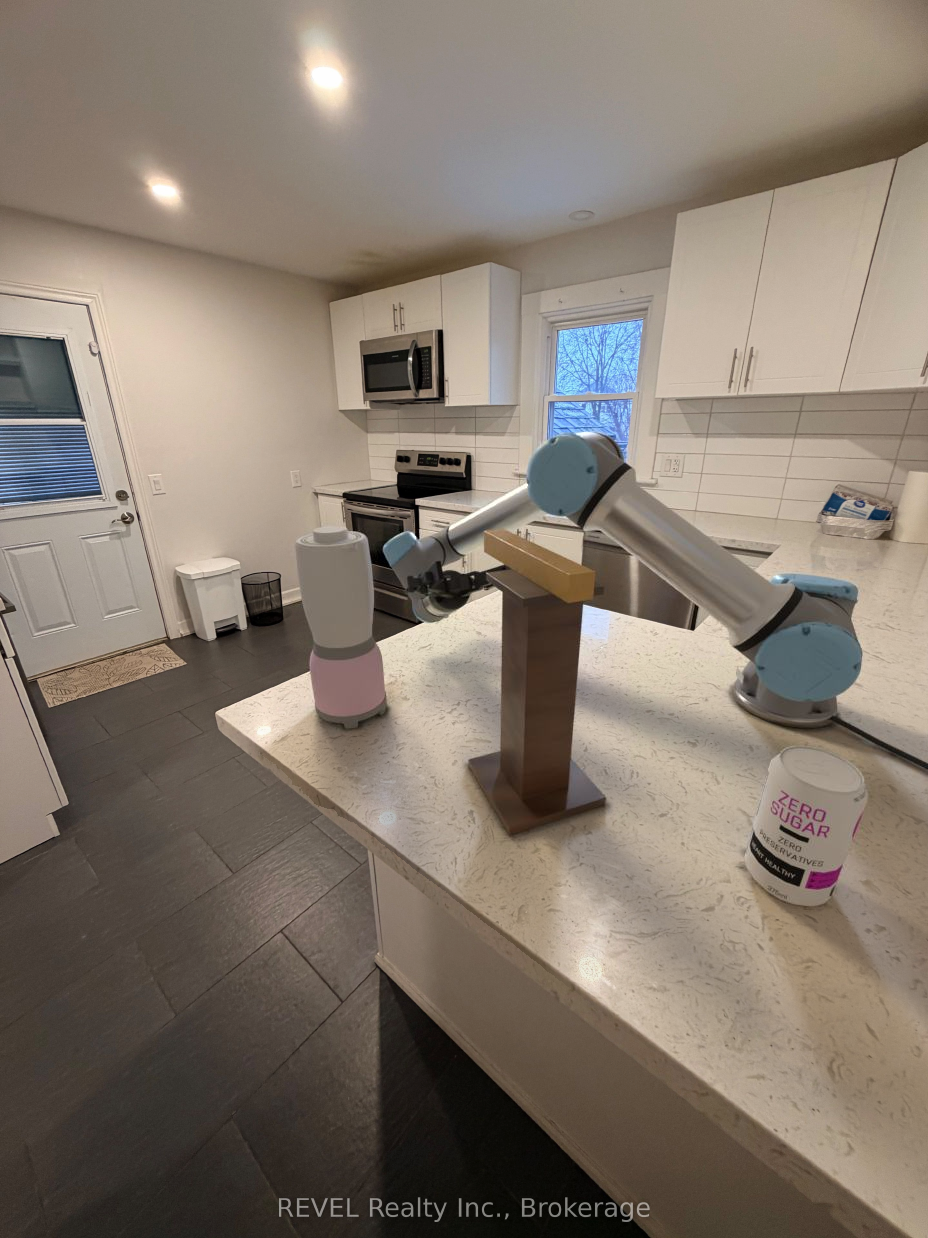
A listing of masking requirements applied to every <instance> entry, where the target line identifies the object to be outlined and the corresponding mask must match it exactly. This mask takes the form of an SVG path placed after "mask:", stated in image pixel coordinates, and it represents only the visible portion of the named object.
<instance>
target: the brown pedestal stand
mask: <svg viewBox="0 0 928 1238" xmlns="http://www.w3.org/2000/svg"><path fill="white" fill-rule="evenodd" d="M486 580H487V581H488V582H489V583H491V584H492V585H493V586H495V587H494V588H496V589H497V590H499V591H500V592H501V593H502V599H501V600H502V601H501V668H500V669H501V673H500V741H499V742H500V745H499V746H500V747H499V749H500V750H499V751H494V752H491V753H487V754H483V755H479V756H475V757H472V758H468V759H467V764H468V765H467V766H468V768H469V769H470V771H471V773H472V775H473V776H474V779H475V780H476V781H477V783H478V784H479V786H480V788H481V790H482V791H483V793H484V795H485V797H486V798H487V800H488V802H489V804H490V805H491V807H492V809H493V811H494V812H495V814H496V815H497V817H498V819H499V820H500V822H501V824H502V825H503V827H504V829H505V831H506V832H507V834H508V836H512V835H515V834H519V833H521V832H525V831H527V830H531V829H533V828H536V827H540V826H543V825H546V824H549V823H552V822H556V821H558V820H561V819H565V818H567V817H571V816H574V815H578V814H580V813H583V812H587V811H590V810H592V809H593V810H594V809H596V808H599V807H603V806H605V805H606V803H607V797H606V796H605V794H604V793H603V792H602V791H601V790H600V789H599V787H597V786H596V784H594V782H593V781H592V780H591V779H590V777H588V776H587V774H585V773H584V771H583V770H582V769H581V768H580V767H579V766H578V765H577V764H576V762H574V760H573V759H572V751H573V750H572V748H573V736H574V725H575V723H574V722H575V712H576V699H577V698H576V697H577V685H578V675H579V664H580V663H579V662H580V651H581V640H582V639H581V637H582V636H581V635H582V625H583V614H584V613H583V611H584V601H578V602H572V603H567V602H566V601H564V600H562V599H561V598H559V597H557V596H556V595H554V594H552V593H551V592H549V591H547V590H546V589H544V588H543V587H541V586H539V585H538V584H536V583H534V582H533V581H531V580H529V579H528V578H526V577H524V576H523V575H521V574H520V573H518V572H516V571H515V570H513V569H511V570H503V571H495V572H488V573H486ZM604 593H605V586H604V585H603V584H600V583H598V582H597V581H595V582H594V593H593V597H597V596H598V597H599V596H603V595H605V594H604Z"/></svg>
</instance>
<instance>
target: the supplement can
mask: <svg viewBox="0 0 928 1238" xmlns="http://www.w3.org/2000/svg"><path fill="white" fill-rule="evenodd" d="M868 794H869V792H868V789H867V787H866V784H865V777H864V775H863V774H862V772H861V771H860V769H859V768H858V767H856V766H855V765H854V764H853V763H852V762H851V761H850V760H847V759H846V758H845V757H843V756H840V755H839V754H836V753H834V752H831V751H829V750H827V749H825V748H820V747H815V746H812V745H799V744H798V745H790V746H787V747H784V748H783V749H782V750H780V753H778V754H776V756H774V757H773V758H772V759H771V760H770V761H769V766H768V769H767V771H766V776H765V779H764V783H763V787H762V791H761V794H760V798H759V802H758V805H757V809H756V813H755V815H754V819H753V820H754V821H753V823H752V826H751V827H752V828H751V830H750V834H749V838H748V843H747V846H746V849H745V853H744V857H743V858H744V862H745V867H746V869H747V871H748V872H749V874H750V876H751V877H752V878H753V879H754V881H756V883H757V884H758V885H759V886H761V888H762V889H764V890H765V891H766V892H767V893H769V894H770V895H772V896H774V897H775V898H777V899H779V900H781V901H784V902H786V903H789V904H791V905H796V906H804V907H815V906H820V905H825V904H826V902H828V900H830V899H831V898H832V895H833V893H834V890H835V887H836V886H837V885H836V884H837V882H838V879H839V877H840V874H841V872H842V869H843V867H844V864H845V861H846V859H847V856H848V853H849V850H850V848H851V845H852V842H853V840H854V838H855V835H856V832H857V829H858V828H859V824H860V821H861V819H862V816H863V814H864V811H865V809H866V806H867V803H868V796H869V795H868Z"/></svg>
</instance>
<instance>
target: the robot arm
mask: <svg viewBox="0 0 928 1238" xmlns="http://www.w3.org/2000/svg"><path fill="white" fill-rule="evenodd" d="M636 473H637V472H636V469H635V468H634V467H632V466H631V465H630V464H629V463H627V462H625V458H624V453H623V450H622V449H621V447H620V445H619V444H618V442H617V441H616V440H615V439H614V438H613V437H612V436H610V435H609V434H607V433H603V432H601V431H591V430H590V431H582V432H564V433H559V434H556V435H555V436H552V437H550V438H548V439H545V440H544V441H543V442H541V444H540V445H538V447H536V449H535V450H534V452H533V454H532V455H531V457H530V459H529V461H528V464H527V467H526V475H525V476H526V481H524V482H523V483H520V484H519V485H518V486H515V487H513V488H512V489H510V490H508V491H507V492H506V493H503V494H501V495H500V496H498V497H497V498H495V499H493V500H492V501H489V502H488V503H487V504H485V505H483V506H481V507H479V508H478V509H476V510H474V511H473V512H471V513H469V514H467V515H466V516H463V517H462V518H459V520H457V521H455V522H453V523H452V524H450V525H448V526H446V527H445V528H443V529H441V530H439V531H437V532H436V533H433V534H431V535H428V536H424V537H421V538H419V539H418V537H417V536H416V535H415V533H414V532H412V531H410V530H405V531H403V532H401V533H399V534H397V535H395V536H394V537H392V538H390V539H389V540H388V541H387V542H386V543H385V544H384V545H383V547H382V552H383V554H384V556H385V559H386V560H387V562H388V564H389V567H391V569H392V570H393V572H394V574H395V575H396V577H397V578H398V580H399V582H400V583H401V586H402V587H403V588H404V590H405V592H406V594H407V596H408V597H409V598H410V600H411V602H412V605H411V606H412V607H411V608H412V612H413V614H414V616H415V617H416V619H417V620H419V621H421V622H422V623H424V624H425V623H426V624H434V623H438V622H440V621H443V620H444V619H449V615H451V614H453V613H454V612H456V611H458V610H460V609H461V608H463V607H464V606H465V605H466V604H467V603H468V602H469V599H470V597H471V595H472V594H473V593H476V592H480V591H489V590H491V589H493V588H496V587H495V586H493V585H492V584H491V583H489V582H488V581H487V580H486V573H488V572H495V571H503V570H511V568H510V567H508V566H506V565H505V564H501V565H499V566H495V567H491V568H489V569H485V570H481V571H479V570H473V571H470V572H466V573H463V572H462V573H461V572H459V571H457V570H454V569H446V570H444V569H443V567H445V566H448V565H450V564H453V563H455V562H458V561H460V560H461V559H463V558H464V557H466V556H467V555H469V554H471V553H473V552H476V551H477V550H479V549H481V548H484V531H487V530H497V529H505V530H507V531H509V532H511V533H514V532H515V531H517V530H519V529H521V528H523V527H524V526H527V525H529V524H530V523H533V522H535V521H536V520H539V519H540V518H543V517H544V516H546V515H551V516H554V517H562V518H563V517H565V518H567V519H568V520H570V521H571V522H572V523H574V524H575V525H576V526H578V527H579V528H580V529H581V530H582V531H584V532H592V531H593V532H594V531H600V532H601V533H602V534H604V535H605V536H607V537H608V538H609V539H611V540H612V541H613V542H614V543H616V544H617V545H618V546H620V547H621V548H622V549H623V550H624V551H626V552H627V553H628V554H630V555H631V556H632V557H634V558H635V559H636V560H638V561H639V562H640V563H642V564H643V565H644V566H646V567H647V568H648V569H649V570H651V571H652V572H653V573H654V574H656V575H657V576H658V577H660V578H661V580H664V581H665V582H666V583H667V584H668V585H670V586H671V587H673V588H674V589H675V590H676V591H678V592H679V593H680V594H682V595H683V596H684V597H686V599H688V600H689V601H691V602H692V603H693V604H694V605H696V606H697V607H698V608H700V609H701V610H702V611H704V612H705V613H706V614H707V615H709V616H710V617H711V618H713V619H714V620H715V621H716V622H718V623H719V624H720V625H721V626H723V627H724V628H726V630H727V633H728V643H729V645H730V646H731V647H733V648H734V649H735V650H737V652H738V653H740V654H741V655H742V656H744V657H745V658H746V659H747V660H749V661H748V662H747V663H746V665H745V666H744V667H743V669H742V671H741V669H739V667H738V666H736V669H735V676H736V677H737V678H736V679H735V681H734V685H733V689H732V696H733V698H734V700H735V701H736V703H737V704H738V705H739V707H741V708H743V709H744V710H745V711H747V712H748V713H750V714H752V715H754V716H756V717H757V718H760V719H763V720H765V721H768V722H771V723H774V724H777V725H782V726H785V727H791V728H799V729H816V728H822V727H826V726H828V725H831V723H833V722H834V723H835V724H837V725H839V726H841V727H843V728H845V729H846V730H849V731H851V732H852V733H854V734H856V735H858V736H860V737H862V738H864V739H865V740H867V741H869V742H871V743H872V744H875V745H877V746H879V747H881V748H882V749H885V751H888V752H890V753H892V754H895V755H897V756H898V757H901V758H903V759H905V760H906V761H909V762H911V763H913V764H915V765H917V766H920V767H921V768H923V769H925V770H927V771H928V762H927V761H924V760H922V759H921V758H918V757H916V756H914V755H912V754H910V753H908V752H906V751H903V750H902V749H900V748H897V747H896V746H893V745H891V744H889V743H887V742H886V741H883V740H881V739H879V738H877V737H875V736H873V735H872V734H870V733H868V732H866V731H864V730H862V729H860V728H859V727H857V726H855V725H853V724H851V723H849V722H847V721H845V720H843V719H841V718H839V717H837V716H836V715H837V711H838V701H837V699H838V698H837V697H838V696H840V695H841V694H843V693H845V692H846V691H847V690H849V689H850V688H851V687H852V686H853V685H854V684H855V682H856V681H857V679H858V678H859V676H860V674H861V670H862V662H863V654H864V653H863V648H862V646H861V643H860V642H859V639H858V635H857V633H856V629H855V627H854V623H853V621H852V617H853V612H854V609H855V606H856V604H858V601H859V600H858V595H859V588H858V587H857V585H855V584H854V583H852V582H849V581H846V580H842V579H839V578H838V579H837V578H834V577H833V578H832V577H826V576H821V575H813V574H805V573H779V574H776V575H774V576H773V577H771V580H768V579H766V578H765V577H764V576H763V575H761V574H760V573H758V572H757V571H756V570H755V569H753V568H752V567H750V566H749V565H747V564H746V563H745V562H743V561H742V560H740V559H739V558H738V557H737V556H735V555H734V554H732V553H731V552H730V551H729V550H727V549H726V548H724V547H723V546H722V545H720V544H719V543H718V542H716V541H715V540H713V539H712V538H710V537H709V536H708V535H707V534H705V533H704V532H702V531H701V530H700V529H698V528H697V527H696V526H694V524H691V523H690V522H689V521H687V520H686V519H685V518H683V517H682V516H681V515H679V514H678V513H677V512H675V511H674V510H672V509H671V508H670V507H668V506H667V505H665V504H664V503H663V502H661V501H660V500H659V499H657V498H656V497H655V496H653V495H652V494H651V493H649V491H647V490H645V489H644V488H642V487H641V486H640V485H638V482H637V474H636Z"/></svg>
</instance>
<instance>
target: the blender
mask: <svg viewBox="0 0 928 1238" xmlns="http://www.w3.org/2000/svg"><path fill="white" fill-rule="evenodd" d="M294 548H295V559H296V560H295V561H296V571H297V578H298V586H299V591H300V599H301V603H302V607H303V611H304V615H305V618H306V619H307V620H306V621H307V623H308V626H309V629H310V632H311V636H312V639H313V646H312V650H311V653H310V657H309V675H310V681H311V687H312V692H313V693H312V694H313V698H314V708H315V712H316V714H317V716H318V717H320V718H321V719H322V720H324V721H327V722H330V723H336V724H343V726H344V729H346V730H347V729H348V730H349V729H350V730H351V729H355V728H359V722H362V721H364V720H367V719H370V718H372V717H374V716H375V715H377V714H378V715H380V716H382V715H384V713H385V711H386V709H387V692H386V686H385V672H384V662H383V655H382V652H381V649H380V646H379V645H378V644H377V642H376V641H375V639H374V635H373V622H374V610H375V609H374V608H375V607H374V606H375V591H374V589H375V587H374V578H373V567H372V559H371V554H370V546H369V539H368V537H367V536H366V535H365V534H364V533H362V532H359V531H352V530H348V528H347V527H346V526H344V525H343V526H342V525H326V526H320V527H316V528H314V529H313V531H312V533H309V534H306V535H303V536H300V537H298V538H297V539H296V540H295V542H294Z"/></svg>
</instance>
